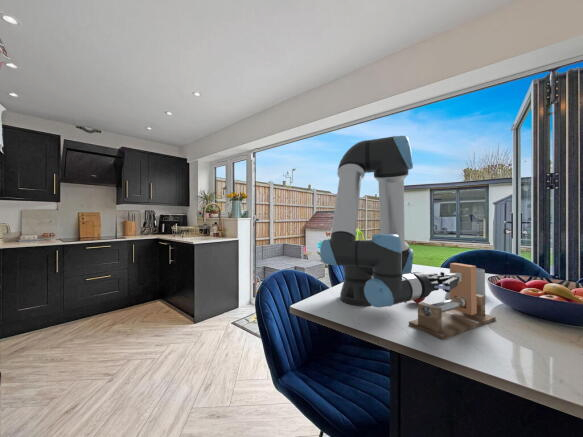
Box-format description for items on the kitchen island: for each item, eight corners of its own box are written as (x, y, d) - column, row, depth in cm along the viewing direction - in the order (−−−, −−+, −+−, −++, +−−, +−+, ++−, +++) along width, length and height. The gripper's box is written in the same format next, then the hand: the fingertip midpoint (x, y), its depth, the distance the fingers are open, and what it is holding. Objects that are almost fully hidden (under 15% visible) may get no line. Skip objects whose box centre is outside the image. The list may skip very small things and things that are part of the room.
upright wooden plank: (471, 315, 79) (470, 266, 79) (450, 308, 85) (449, 263, 85) (476, 313, 80) (476, 265, 80) (455, 307, 86) (455, 262, 86)
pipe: (431, 318, 73) (431, 307, 73) (421, 314, 76) (421, 304, 76) (480, 303, 84) (480, 294, 84) (470, 301, 87) (470, 292, 87)
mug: (489, 294, 107) (488, 269, 107) (480, 298, 103) (479, 272, 103) (459, 288, 118) (458, 265, 118) (449, 291, 113) (449, 267, 113)
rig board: (443, 339, 69) (442, 313, 69) (408, 324, 79) (408, 301, 79) (495, 320, 81) (495, 297, 81) (460, 309, 91) (460, 289, 91)
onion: (425, 307, 94) (424, 286, 94) (408, 304, 97) (408, 284, 97) (426, 302, 99) (425, 282, 99) (410, 300, 102) (410, 281, 102)
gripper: (393, 293, 77) (440, 283, 88) (433, 306, 65) (482, 293, 76) (393, 269, 77) (440, 262, 88) (432, 278, 65) (481, 268, 76)
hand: (459, 276), depth 82 cm, fingers closed
